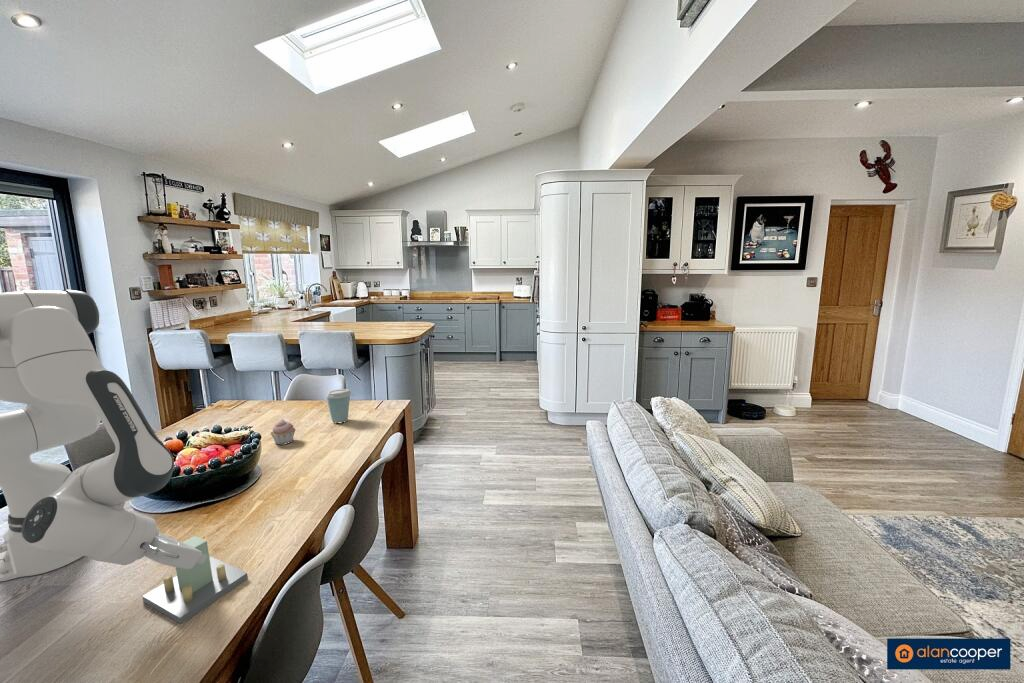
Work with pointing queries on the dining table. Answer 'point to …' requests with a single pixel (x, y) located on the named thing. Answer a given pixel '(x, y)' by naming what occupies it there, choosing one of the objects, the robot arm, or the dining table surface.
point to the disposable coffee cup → (338, 404)
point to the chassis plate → (188, 604)
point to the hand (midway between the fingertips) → (190, 552)
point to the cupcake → (283, 432)
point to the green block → (196, 567)
